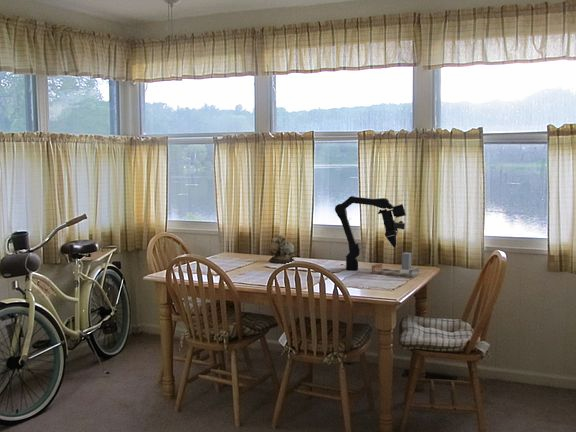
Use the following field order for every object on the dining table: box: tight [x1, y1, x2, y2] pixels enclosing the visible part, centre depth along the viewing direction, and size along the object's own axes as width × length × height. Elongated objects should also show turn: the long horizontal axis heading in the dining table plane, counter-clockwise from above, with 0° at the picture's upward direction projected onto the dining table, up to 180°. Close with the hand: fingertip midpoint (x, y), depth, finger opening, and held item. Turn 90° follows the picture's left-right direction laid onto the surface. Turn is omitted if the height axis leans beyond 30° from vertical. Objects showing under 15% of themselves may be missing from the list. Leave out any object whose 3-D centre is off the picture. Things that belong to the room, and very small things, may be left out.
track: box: [371, 262, 420, 279], centre depth 330 cm, size 24×10×4 cm, turn 58°
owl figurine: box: [267, 234, 296, 265], centre depth 369 cm, size 18×12×17 cm, turn 73°
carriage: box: [399, 252, 413, 274], centre depth 326 cm, size 6×6×11 cm
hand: (395, 246), depth 338 cm, fingers open, 9 cm apart
